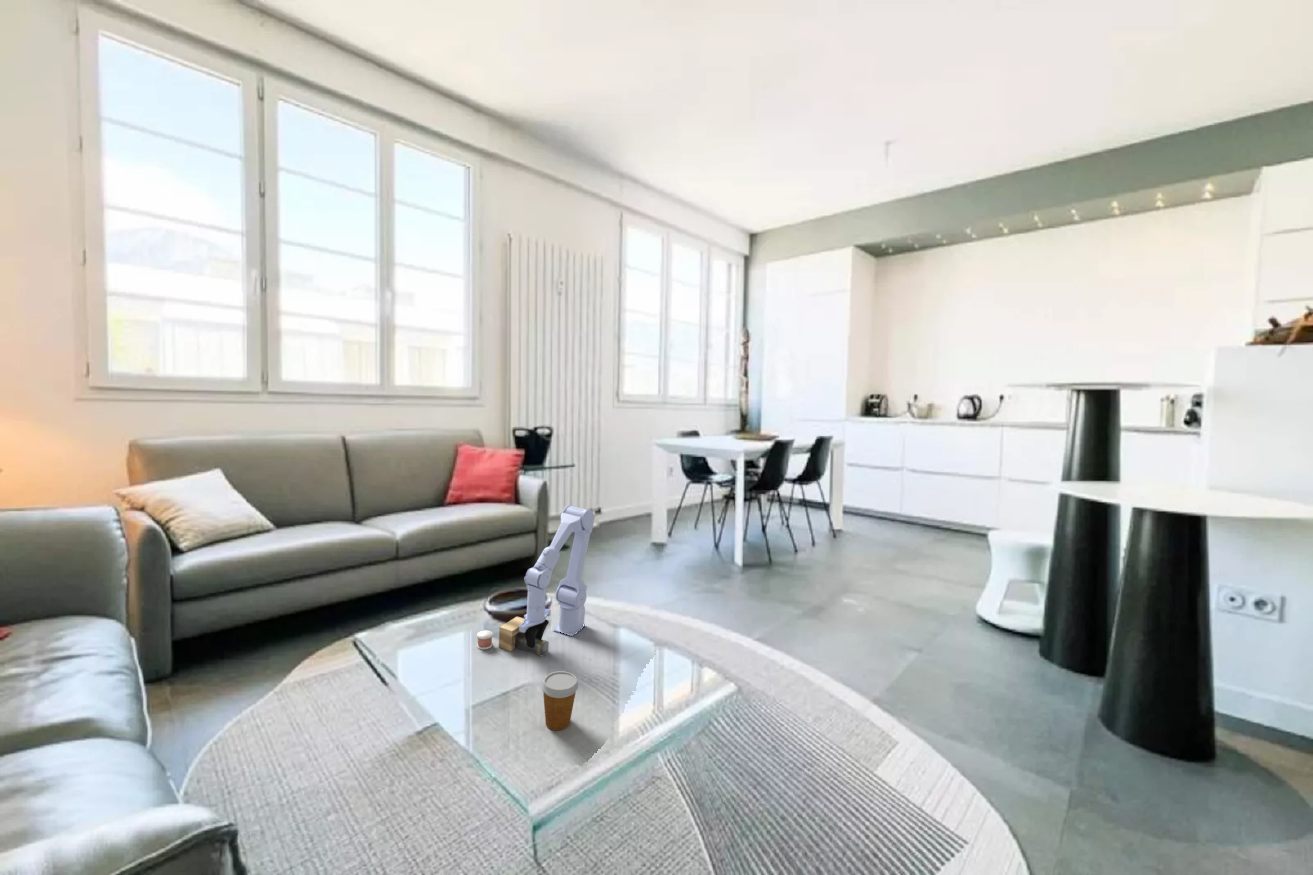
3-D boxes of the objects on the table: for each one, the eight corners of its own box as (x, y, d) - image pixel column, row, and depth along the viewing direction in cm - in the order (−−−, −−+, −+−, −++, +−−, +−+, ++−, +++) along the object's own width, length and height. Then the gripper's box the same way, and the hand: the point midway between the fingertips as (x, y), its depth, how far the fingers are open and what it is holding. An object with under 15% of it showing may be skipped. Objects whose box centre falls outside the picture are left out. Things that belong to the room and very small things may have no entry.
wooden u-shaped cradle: (516, 635, 190) (517, 616, 189) (528, 639, 188) (529, 620, 187) (498, 647, 182) (499, 627, 181) (511, 651, 180) (512, 631, 179)
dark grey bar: (508, 638, 188) (508, 628, 188) (548, 651, 182) (548, 641, 181) (501, 642, 185) (502, 632, 185) (542, 656, 179) (543, 645, 178)
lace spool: (483, 640, 186) (484, 629, 185) (495, 644, 184) (496, 632, 183) (473, 646, 181) (473, 635, 181) (485, 651, 179) (485, 639, 179)
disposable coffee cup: (559, 707, 154) (562, 666, 152) (583, 723, 148) (586, 680, 146) (531, 722, 146) (533, 679, 145) (555, 740, 140) (558, 695, 139)
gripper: (539, 593, 188) (537, 632, 190) (511, 609, 175) (509, 650, 177) (556, 598, 186) (554, 637, 187) (530, 615, 172) (528, 656, 174)
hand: (534, 644), depth 182 cm, fingers closed on dark grey bar, 3 cm apart
